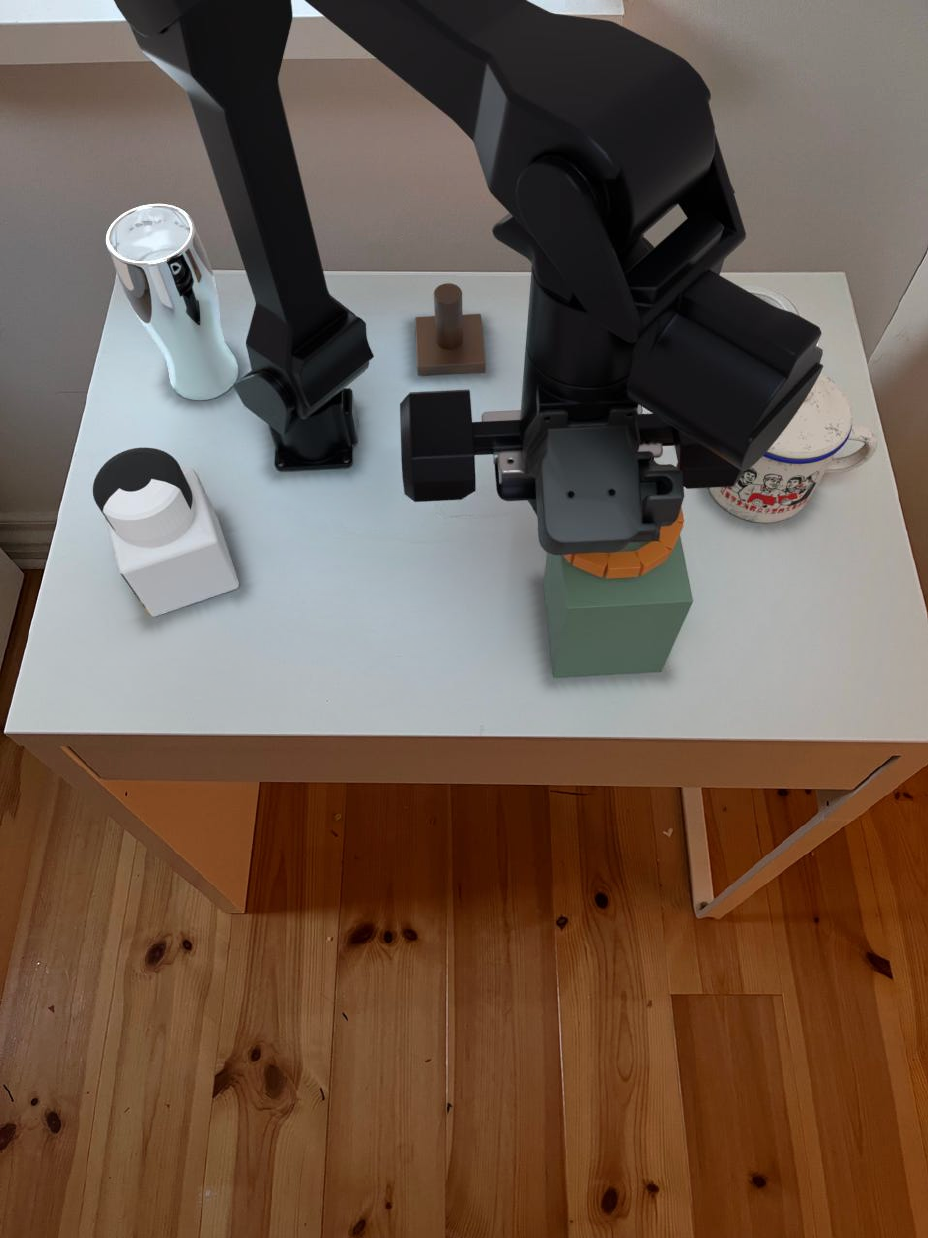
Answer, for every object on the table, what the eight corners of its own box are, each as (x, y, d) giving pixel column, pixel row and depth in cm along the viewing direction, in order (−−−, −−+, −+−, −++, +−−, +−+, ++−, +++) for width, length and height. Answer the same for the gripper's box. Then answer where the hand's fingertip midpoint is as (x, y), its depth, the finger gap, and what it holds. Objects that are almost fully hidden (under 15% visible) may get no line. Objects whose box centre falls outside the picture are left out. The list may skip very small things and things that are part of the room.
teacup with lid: (701, 522, 72) (740, 428, 62) (701, 432, 76) (736, 331, 66) (854, 535, 71) (918, 443, 61) (844, 444, 75) (903, 343, 65)
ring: (554, 581, 55) (555, 571, 54) (541, 471, 59) (543, 459, 58) (689, 574, 56) (693, 565, 54) (667, 465, 59) (671, 453, 58)
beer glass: (251, 347, 81) (206, 203, 68) (234, 407, 78) (184, 268, 65) (176, 343, 82) (117, 198, 68) (156, 402, 78) (91, 263, 65)
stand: (417, 376, 79) (413, 321, 74) (415, 326, 82) (411, 269, 76) (485, 372, 79) (486, 317, 74) (480, 323, 82) (481, 265, 76)
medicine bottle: (131, 546, 72) (71, 453, 61) (218, 518, 73) (173, 421, 62) (151, 619, 69) (91, 535, 58) (241, 589, 70) (198, 500, 59)
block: (553, 678, 66) (566, 608, 56) (543, 584, 70) (553, 502, 60) (661, 672, 66) (693, 601, 56) (645, 578, 70) (672, 496, 60)
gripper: (394, 489, 39) (414, 642, 53) (815, 469, 40) (726, 626, 54) (390, 304, 44) (409, 488, 58) (763, 287, 45) (694, 474, 59)
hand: (557, 520), depth 57 cm, fingers closed on ring, 1 cm apart
